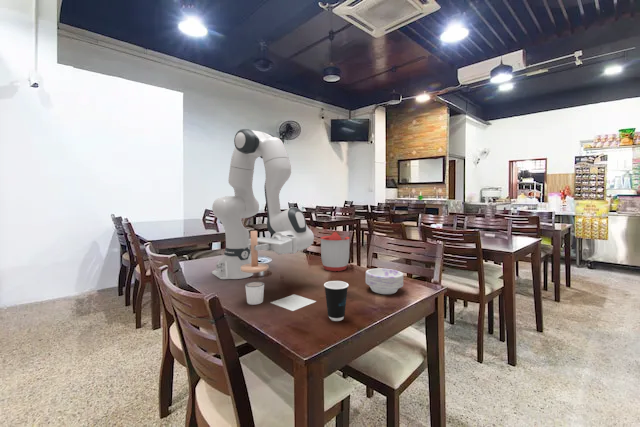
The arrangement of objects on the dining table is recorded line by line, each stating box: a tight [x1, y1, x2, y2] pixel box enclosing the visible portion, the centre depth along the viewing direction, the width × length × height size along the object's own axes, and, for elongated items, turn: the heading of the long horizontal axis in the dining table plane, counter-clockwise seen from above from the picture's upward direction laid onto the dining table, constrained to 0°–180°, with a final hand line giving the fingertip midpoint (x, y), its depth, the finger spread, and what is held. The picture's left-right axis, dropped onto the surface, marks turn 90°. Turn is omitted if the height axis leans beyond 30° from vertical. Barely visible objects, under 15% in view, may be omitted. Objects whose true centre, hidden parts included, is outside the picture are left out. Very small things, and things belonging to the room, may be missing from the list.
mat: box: [270, 294, 317, 312], centre depth 109 cm, size 12×12×1 cm
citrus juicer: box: [320, 231, 350, 272], centre depth 159 cm, size 16×17×20 cm
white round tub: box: [244, 281, 265, 306], centre depth 109 cm, size 7×7×7 cm
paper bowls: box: [365, 267, 404, 295], centre depth 122 cm, size 15×15×8 cm
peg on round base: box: [241, 230, 270, 274], centre depth 108 cm, size 10×10×14 cm
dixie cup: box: [323, 280, 350, 322], centre depth 95 cm, size 8×8×11 cm
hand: (252, 247), depth 108 cm, fingers closed on peg on round base, 2 cm apart
